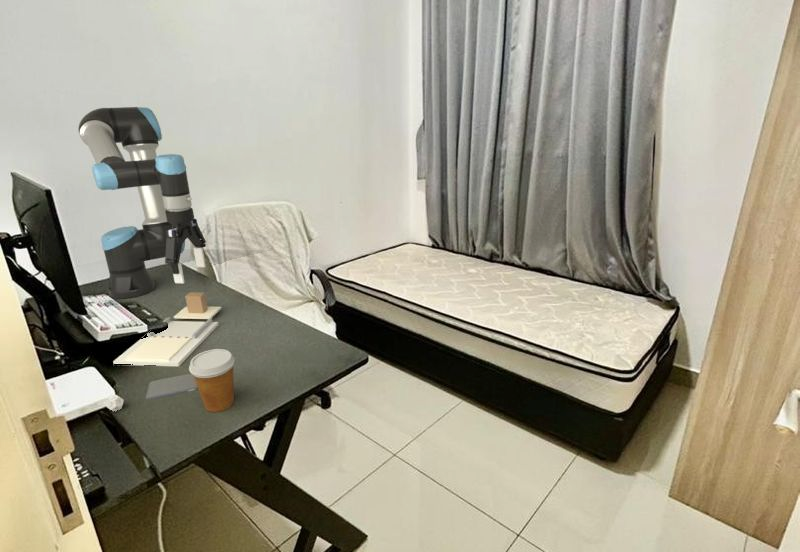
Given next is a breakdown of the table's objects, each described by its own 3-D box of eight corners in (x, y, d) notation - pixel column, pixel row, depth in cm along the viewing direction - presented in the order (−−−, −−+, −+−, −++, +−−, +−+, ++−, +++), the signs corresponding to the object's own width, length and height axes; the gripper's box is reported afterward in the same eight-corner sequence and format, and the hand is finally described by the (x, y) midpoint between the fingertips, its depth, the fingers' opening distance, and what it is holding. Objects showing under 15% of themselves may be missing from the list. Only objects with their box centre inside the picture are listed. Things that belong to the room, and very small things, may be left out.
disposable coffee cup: (249, 402, 106) (241, 357, 102) (209, 422, 99) (200, 375, 95) (228, 386, 112) (220, 343, 108) (189, 405, 105) (180, 359, 101)
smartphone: (149, 381, 114) (213, 368, 119) (150, 384, 114) (213, 371, 119) (144, 398, 107) (212, 384, 112) (145, 402, 108) (213, 387, 112)
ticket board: (163, 323, 145) (162, 317, 144) (218, 324, 143) (217, 318, 142) (113, 364, 122) (111, 357, 121) (178, 366, 121) (177, 358, 120)
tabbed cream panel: (186, 307, 153) (183, 289, 150) (221, 308, 152) (218, 290, 149) (174, 318, 145) (169, 299, 143) (210, 319, 144) (207, 299, 142)
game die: (104, 410, 104) (100, 399, 103) (120, 402, 107) (117, 391, 106) (112, 415, 102) (109, 404, 101) (129, 406, 105) (125, 395, 104)
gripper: (168, 219, 124) (182, 290, 132) (210, 199, 147) (219, 261, 155) (141, 219, 125) (157, 290, 133) (187, 199, 148) (198, 260, 156)
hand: (191, 274), depth 144 cm, fingers open, 13 cm apart
